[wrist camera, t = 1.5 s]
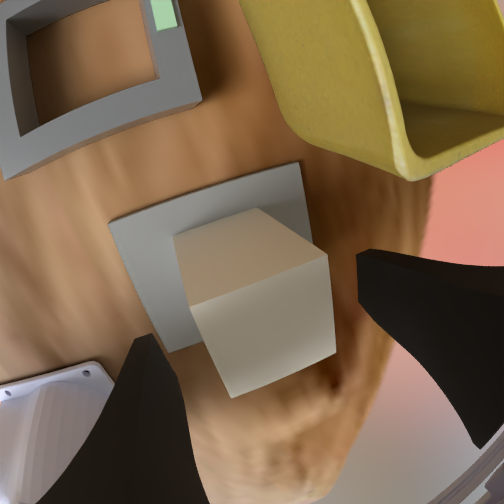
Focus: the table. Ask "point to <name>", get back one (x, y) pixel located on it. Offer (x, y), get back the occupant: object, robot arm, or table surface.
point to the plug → (257, 298)
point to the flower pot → (386, 77)
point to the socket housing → (95, 113)
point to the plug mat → (191, 216)
